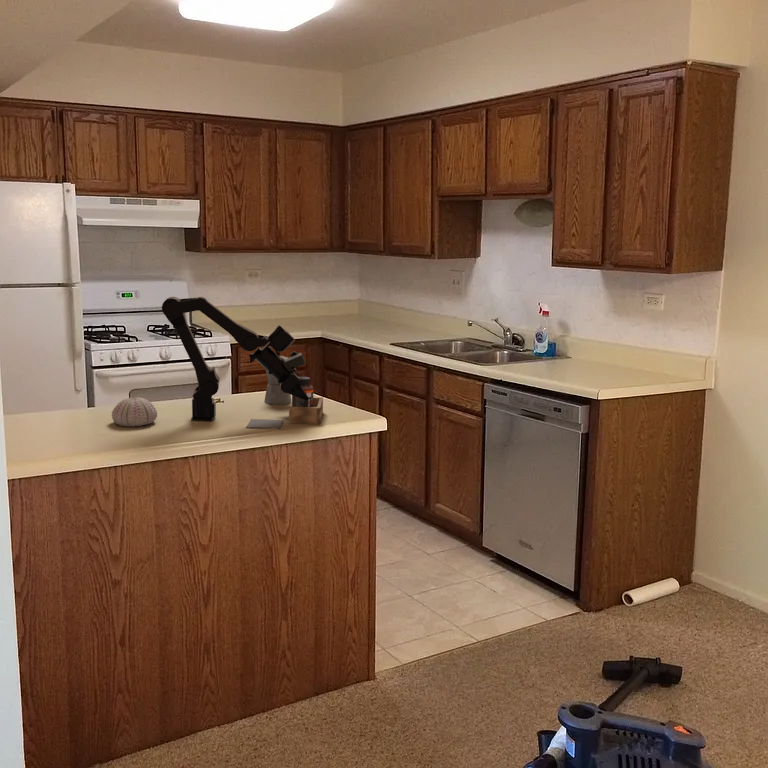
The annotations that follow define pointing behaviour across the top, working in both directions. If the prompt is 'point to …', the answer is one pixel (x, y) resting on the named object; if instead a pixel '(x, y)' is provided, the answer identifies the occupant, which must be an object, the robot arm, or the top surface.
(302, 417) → the crate
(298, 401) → the supplement bottle
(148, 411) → the sea urchin shell
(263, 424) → the mat
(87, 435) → the top surface
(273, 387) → the coffeepot
